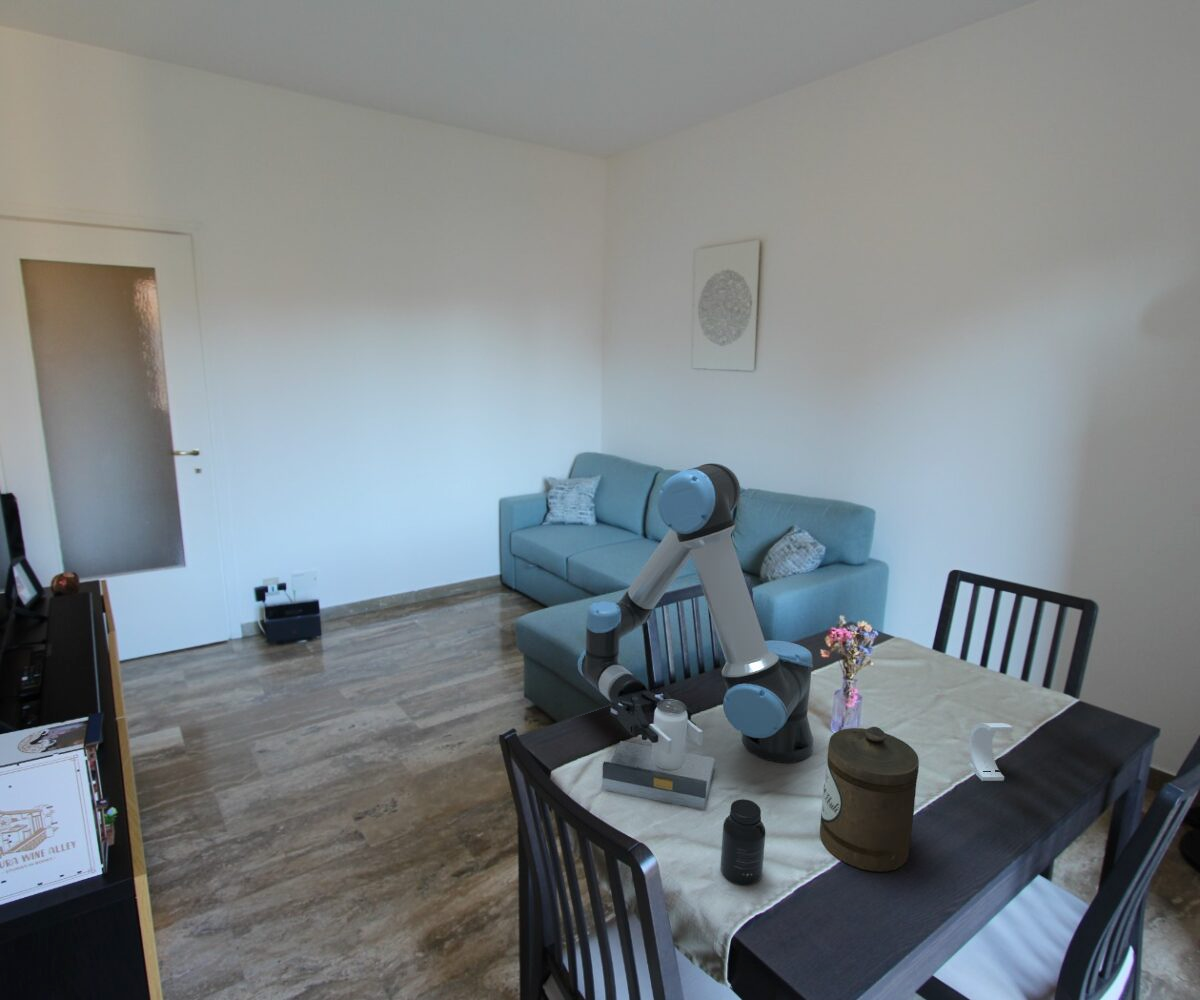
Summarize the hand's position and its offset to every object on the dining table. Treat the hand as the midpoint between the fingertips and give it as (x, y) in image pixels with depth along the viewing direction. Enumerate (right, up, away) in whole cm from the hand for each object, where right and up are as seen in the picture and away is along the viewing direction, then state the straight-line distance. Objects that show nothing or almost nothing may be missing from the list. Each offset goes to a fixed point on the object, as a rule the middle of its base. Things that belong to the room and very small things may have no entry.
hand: (685, 742), depth 132 cm
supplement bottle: (+7, -16, -16) cm, 24 cm away
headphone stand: (+64, -11, +14) cm, 67 cm away
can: (-3, -6, +6) cm, 9 cm away
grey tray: (-4, -10, +9) cm, 14 cm away
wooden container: (+30, -15, -8) cm, 35 cm away
